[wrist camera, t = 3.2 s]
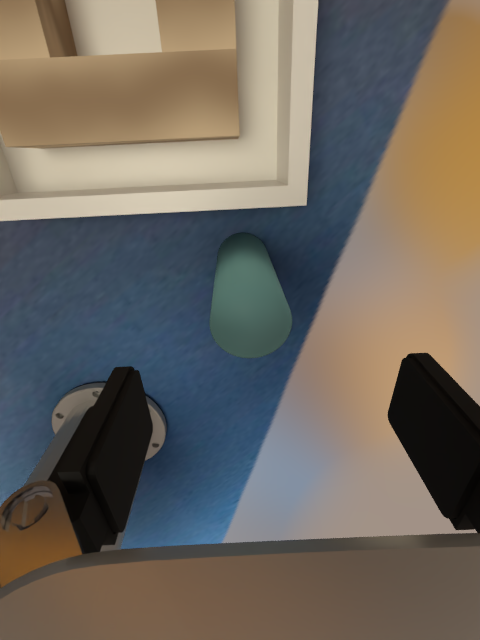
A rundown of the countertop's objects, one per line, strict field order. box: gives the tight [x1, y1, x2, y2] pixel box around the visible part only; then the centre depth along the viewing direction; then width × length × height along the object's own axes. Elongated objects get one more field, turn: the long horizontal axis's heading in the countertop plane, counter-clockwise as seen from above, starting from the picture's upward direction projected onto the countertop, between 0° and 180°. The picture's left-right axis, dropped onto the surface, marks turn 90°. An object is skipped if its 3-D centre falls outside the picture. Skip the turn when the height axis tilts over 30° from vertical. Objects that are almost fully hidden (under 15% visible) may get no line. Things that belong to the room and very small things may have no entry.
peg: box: [210, 233, 292, 358], centre depth 21 cm, size 4×4×12 cm
